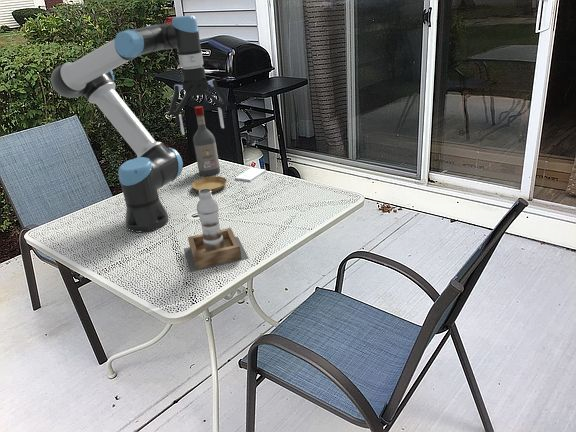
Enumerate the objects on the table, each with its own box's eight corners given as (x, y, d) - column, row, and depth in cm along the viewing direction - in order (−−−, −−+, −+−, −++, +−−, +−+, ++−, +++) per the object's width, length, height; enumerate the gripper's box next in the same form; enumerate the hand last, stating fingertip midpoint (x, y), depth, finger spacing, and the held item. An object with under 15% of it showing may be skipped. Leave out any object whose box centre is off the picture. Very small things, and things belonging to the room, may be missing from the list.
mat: (190, 273, 146) (189, 272, 146) (183, 249, 160) (183, 248, 160) (249, 259, 151) (248, 258, 151) (237, 237, 165) (237, 236, 165)
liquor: (221, 173, 222) (210, 107, 210) (201, 177, 220) (189, 110, 208) (217, 167, 230) (207, 103, 218) (198, 171, 228) (186, 106, 216)
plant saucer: (225, 193, 201) (224, 187, 200) (189, 196, 202) (188, 190, 201) (229, 180, 214) (228, 175, 213) (196, 183, 215) (195, 177, 214)
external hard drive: (266, 173, 220) (250, 183, 210) (250, 171, 224) (234, 180, 214) (265, 169, 219) (250, 179, 210) (250, 167, 223) (234, 177, 214)
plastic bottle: (216, 257, 151) (206, 196, 142) (199, 252, 154) (188, 193, 146) (229, 247, 155) (220, 188, 147) (213, 243, 159) (203, 185, 150)
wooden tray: (196, 269, 148) (193, 257, 146) (190, 248, 160) (187, 237, 158) (241, 258, 151) (239, 246, 149) (232, 239, 163) (230, 227, 161)
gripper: (154, 74, 154) (167, 139, 163) (232, 63, 160) (240, 127, 169) (152, 70, 161) (165, 134, 170) (227, 60, 167) (236, 122, 176)
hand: (203, 130), depth 170 cm, fingers open, 13 cm apart
